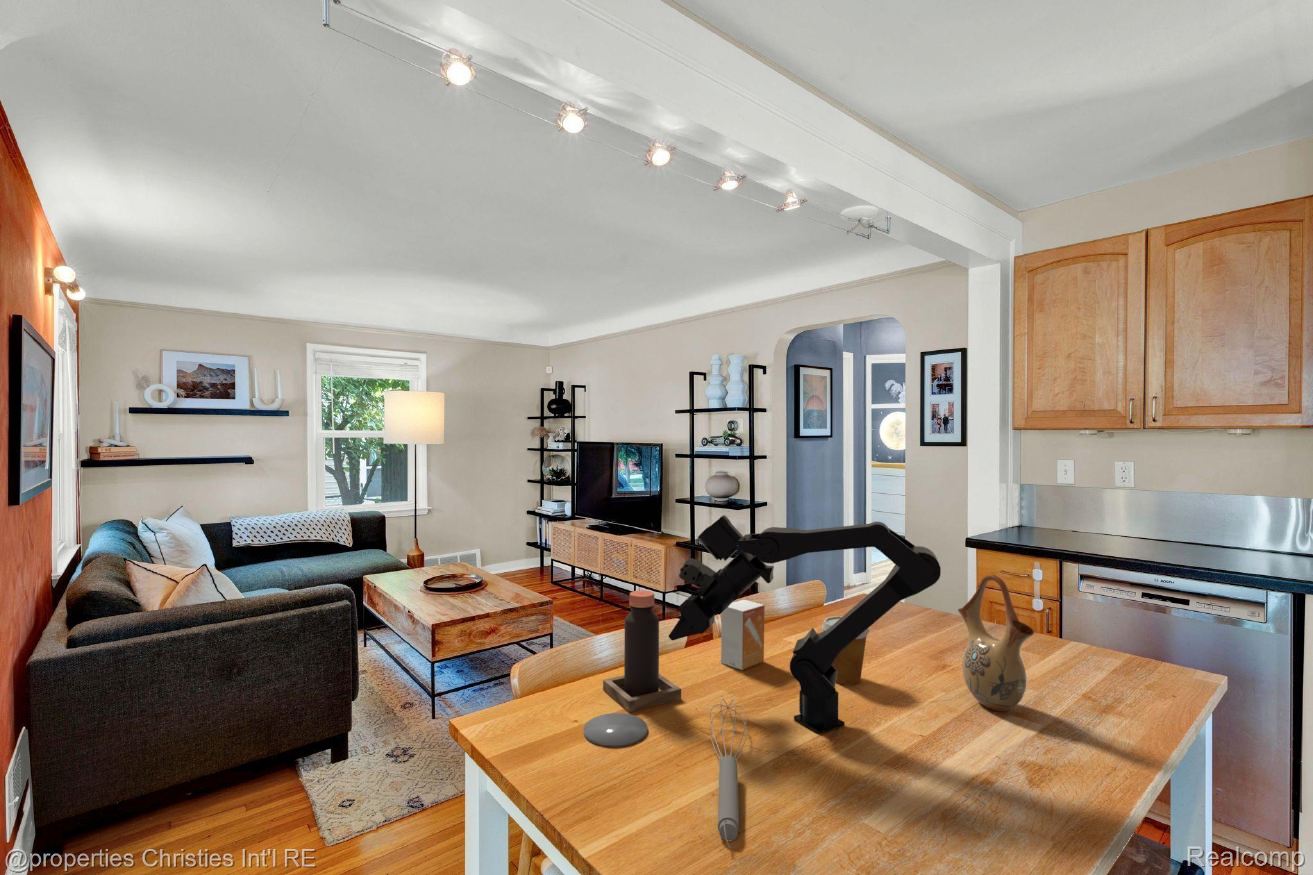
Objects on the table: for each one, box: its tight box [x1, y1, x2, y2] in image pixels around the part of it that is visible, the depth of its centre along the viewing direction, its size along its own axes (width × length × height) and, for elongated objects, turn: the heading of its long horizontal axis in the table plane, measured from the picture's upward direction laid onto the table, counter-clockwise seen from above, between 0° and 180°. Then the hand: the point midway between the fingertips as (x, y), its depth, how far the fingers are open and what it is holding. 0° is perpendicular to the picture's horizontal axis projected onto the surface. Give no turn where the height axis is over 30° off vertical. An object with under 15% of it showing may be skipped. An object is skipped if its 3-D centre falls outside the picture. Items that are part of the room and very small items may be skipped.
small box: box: [720, 599, 766, 671], centre depth 140 cm, size 8×6×13 cm
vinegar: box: [623, 590, 660, 697], centre depth 123 cm, size 7×7×20 cm
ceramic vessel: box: [957, 574, 1035, 712], centre depth 118 cm, size 16×9×25 cm, turn 17°
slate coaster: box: [583, 712, 648, 748], centre depth 108 cm, size 11×11×1 cm
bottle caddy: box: [602, 673, 682, 713], centre depth 123 cm, size 11×11×2 cm
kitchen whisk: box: [709, 698, 747, 849], centre depth 93 cm, size 6×34×6 cm, turn 174°
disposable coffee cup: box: [821, 615, 870, 686], centre depth 131 cm, size 10×10×12 cm
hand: (678, 630), depth 120 cm, fingers open, 9 cm apart
